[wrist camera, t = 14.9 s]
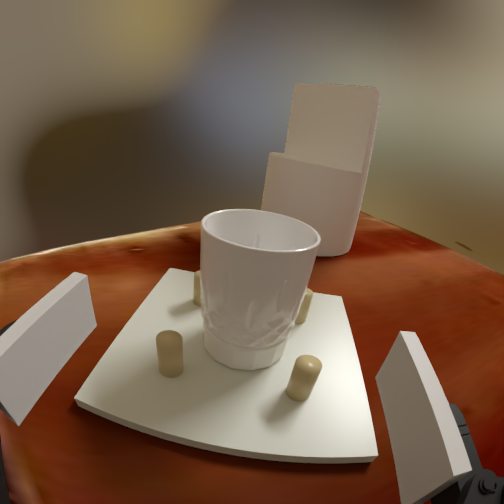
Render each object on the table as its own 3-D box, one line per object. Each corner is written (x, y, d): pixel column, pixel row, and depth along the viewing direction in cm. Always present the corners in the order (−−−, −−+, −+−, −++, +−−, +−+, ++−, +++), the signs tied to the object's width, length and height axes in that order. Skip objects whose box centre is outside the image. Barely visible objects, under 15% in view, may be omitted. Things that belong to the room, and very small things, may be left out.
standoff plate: (371, 461, 14) (400, 432, 12) (78, 406, 14) (60, 368, 13) (338, 303, 32) (348, 273, 30) (170, 275, 33) (170, 244, 31)
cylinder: (301, 217, 63) (322, 94, 52) (366, 247, 51) (396, 102, 40) (239, 224, 53) (259, 72, 41) (309, 264, 41) (344, 68, 30)
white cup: (287, 318, 26) (310, 217, 22) (295, 381, 19) (333, 259, 15) (204, 308, 26) (211, 203, 22) (187, 369, 19) (188, 240, 15)
